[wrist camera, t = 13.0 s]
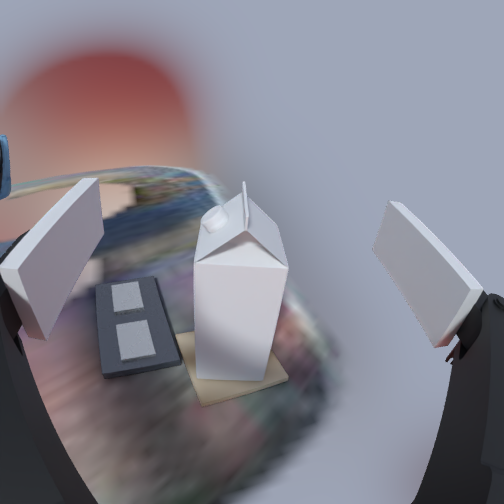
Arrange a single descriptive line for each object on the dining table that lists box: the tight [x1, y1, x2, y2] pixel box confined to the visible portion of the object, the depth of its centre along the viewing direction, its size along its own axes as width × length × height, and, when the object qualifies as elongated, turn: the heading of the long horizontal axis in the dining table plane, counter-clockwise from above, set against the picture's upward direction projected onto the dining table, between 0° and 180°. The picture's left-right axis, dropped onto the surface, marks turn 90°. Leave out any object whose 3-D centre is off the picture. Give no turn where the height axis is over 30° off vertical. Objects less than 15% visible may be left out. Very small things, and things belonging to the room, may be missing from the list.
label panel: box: [95, 276, 181, 379], centre depth 36 cm, size 16×9×1 cm, turn 25°
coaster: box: [176, 331, 289, 407], centre depth 34 cm, size 10×10×1 cm
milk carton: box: [194, 182, 289, 381], centre depth 28 cm, size 7×7×19 cm
